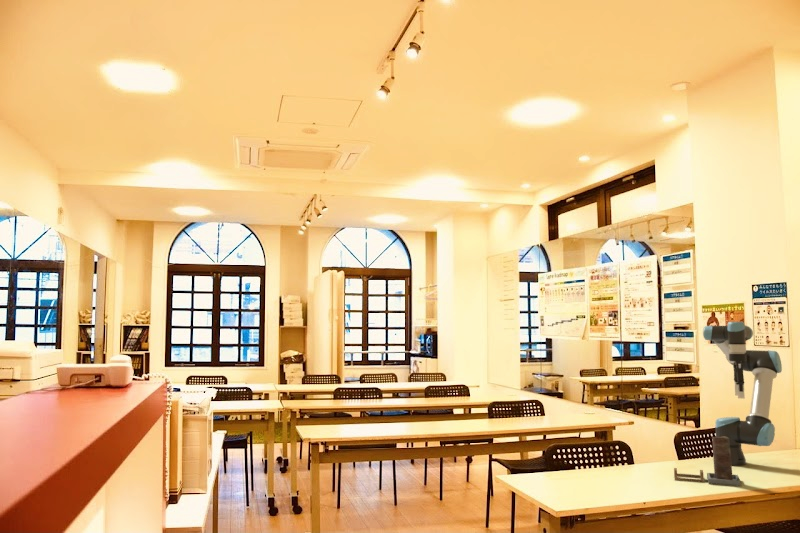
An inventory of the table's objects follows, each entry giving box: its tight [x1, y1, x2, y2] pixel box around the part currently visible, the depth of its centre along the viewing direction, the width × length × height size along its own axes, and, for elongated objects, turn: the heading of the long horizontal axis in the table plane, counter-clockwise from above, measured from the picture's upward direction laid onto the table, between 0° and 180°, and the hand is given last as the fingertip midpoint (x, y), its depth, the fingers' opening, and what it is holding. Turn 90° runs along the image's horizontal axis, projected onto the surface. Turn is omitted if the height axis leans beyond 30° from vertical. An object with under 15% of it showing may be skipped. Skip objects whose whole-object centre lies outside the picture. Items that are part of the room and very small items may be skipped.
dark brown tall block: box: [711, 436, 733, 480], centre depth 295 cm, size 8×7×20 cm
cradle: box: [673, 467, 705, 483], centre depth 301 cm, size 10×12×4 cm
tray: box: [706, 472, 742, 487], centre depth 294 cm, size 13×13×2 cm
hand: (739, 397), depth 313 cm, fingers open, 13 cm apart
